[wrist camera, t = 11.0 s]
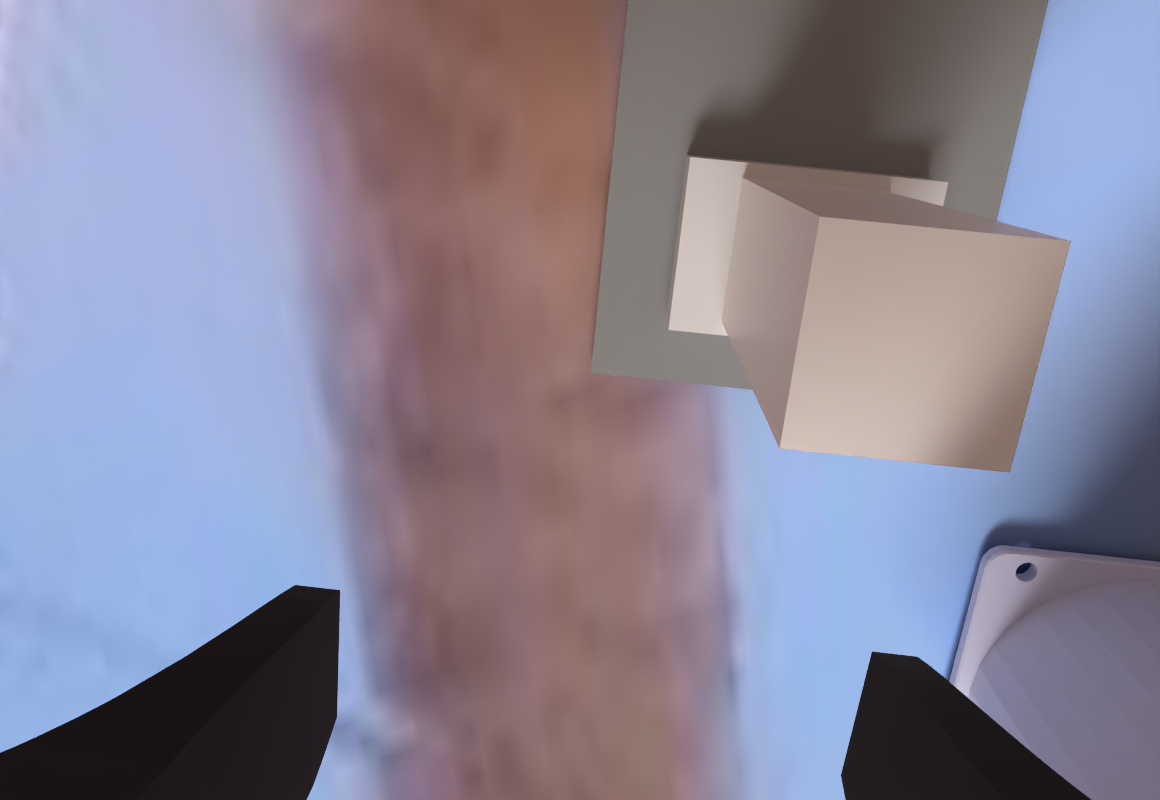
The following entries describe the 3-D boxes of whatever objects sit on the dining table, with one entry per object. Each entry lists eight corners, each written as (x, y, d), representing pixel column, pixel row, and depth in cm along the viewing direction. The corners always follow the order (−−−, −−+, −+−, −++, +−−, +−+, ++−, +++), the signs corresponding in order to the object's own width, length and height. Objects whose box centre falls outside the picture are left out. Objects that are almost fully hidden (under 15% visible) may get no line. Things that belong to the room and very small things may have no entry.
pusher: (928, 178, 19) (1171, 224, 10) (894, 341, 20) (1089, 502, 11) (686, 154, 19) (732, 181, 10) (666, 318, 20) (693, 460, 12)
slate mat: (1034, -10, 18) (1051, -15, 17) (940, 399, 21) (951, 410, 20) (633, -47, 18) (633, -54, 18) (592, 363, 21) (590, 373, 20)
